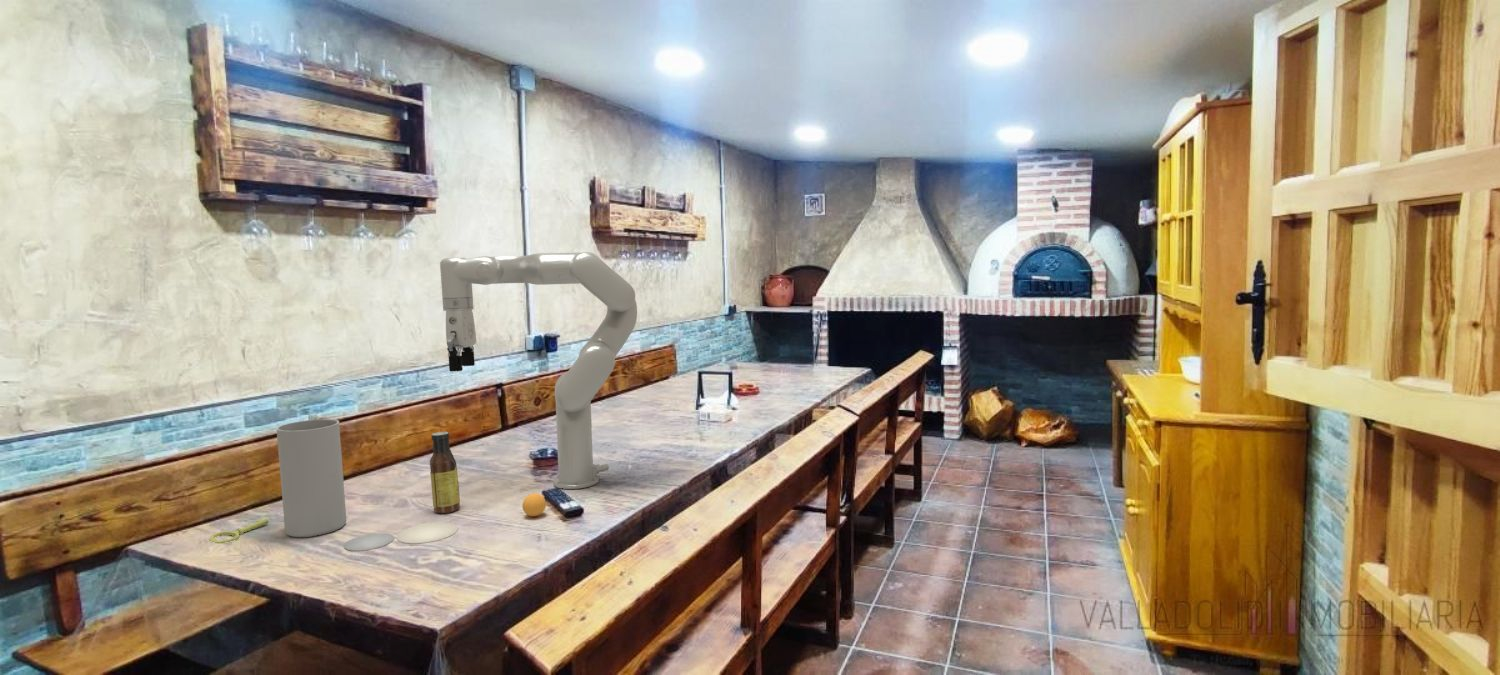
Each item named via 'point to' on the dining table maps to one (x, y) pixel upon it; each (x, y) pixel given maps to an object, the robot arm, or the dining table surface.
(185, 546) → the dining table surface
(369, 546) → the disc
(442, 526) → the disc
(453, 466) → the sauce bottle
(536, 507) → the ball
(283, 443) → the cylinder vase
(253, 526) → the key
